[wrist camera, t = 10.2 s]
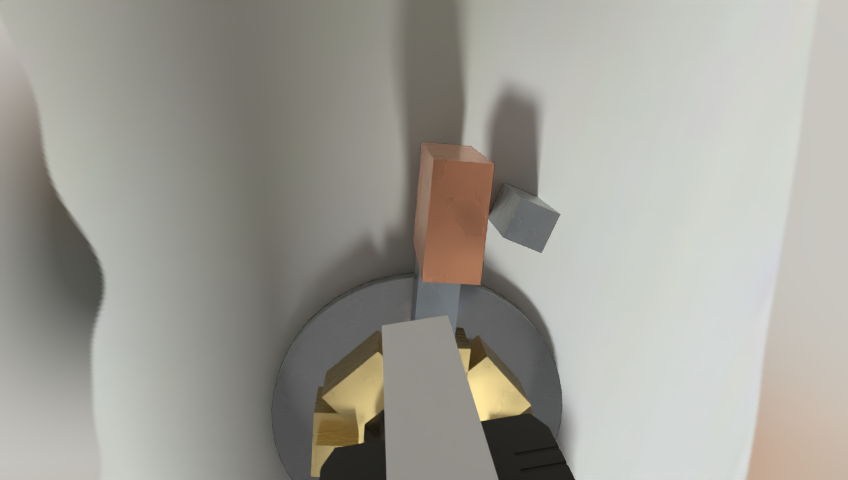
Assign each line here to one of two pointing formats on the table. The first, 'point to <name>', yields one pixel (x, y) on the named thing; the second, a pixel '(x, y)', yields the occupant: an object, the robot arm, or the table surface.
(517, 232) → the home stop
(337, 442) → the tan and copper piece
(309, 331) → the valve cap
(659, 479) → the table surface
